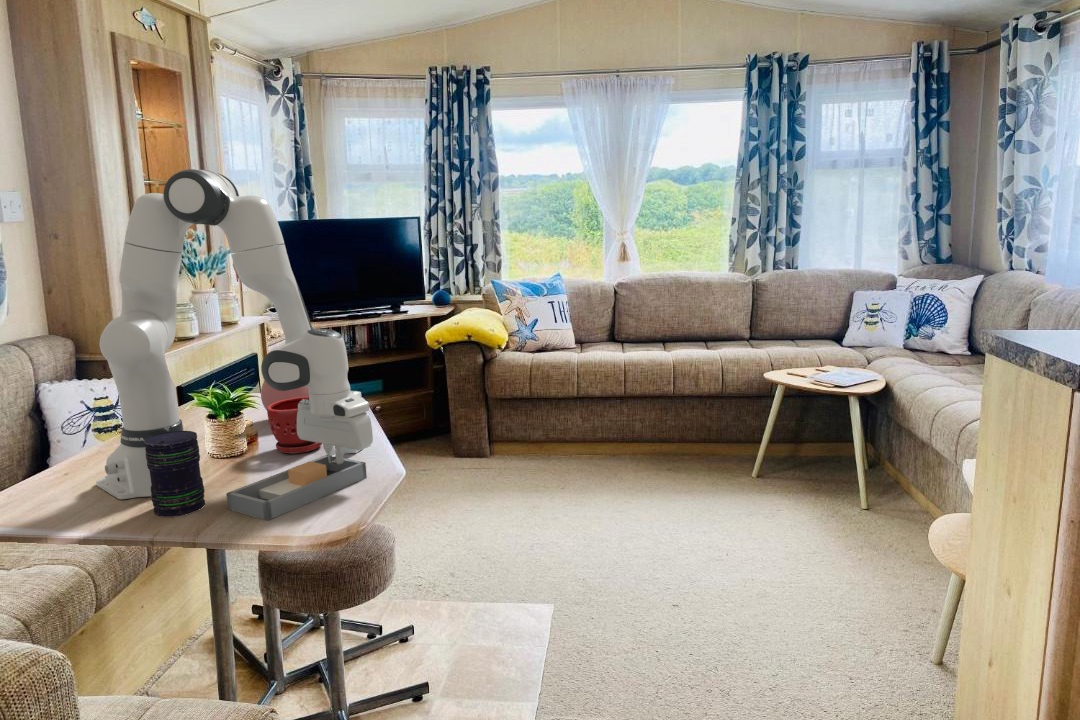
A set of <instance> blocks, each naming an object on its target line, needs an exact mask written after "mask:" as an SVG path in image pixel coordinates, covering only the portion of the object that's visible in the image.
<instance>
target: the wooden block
mask: <svg viewBox="0 0 1080 720" xmlns="http://www.w3.org/2000/svg"><path fill="white" fill-rule="evenodd" d="M311 461H312V460H310V461H307V462H304V463H302V464H299V465H296V466H294V467H291V468H288V469H287V470H288V475H289V483H291V484H296V485H300V486H304V485H307V484H309V483H312V482H314V481H317V480H319V479H322V478H324V477H326V476H327V471H326V465H325V464H320V463H316V462H311Z"/></svg>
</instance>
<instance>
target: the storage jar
mask: <svg viewBox="0 0 1080 720" xmlns="http://www.w3.org/2000/svg"><path fill="white" fill-rule="evenodd" d="M144 444H145V446H146V448H145V451H146V454H145V455H146V460H147V466H148V469H149V470H150V478H151V487H150V488H151V496H150V498H151V502H152V506H153V514H154V515H155V516H156V517H161V518H174V516H177V517H181V515H182V516H187V515H189V514H193V513H196V512H198V511H200V510H202V509H203V508H204V507H205V506H206V500H205V486H204V481H203V477H202V475H201V466H200V461H201V455H200V446H199V442H198V435H197V432H195V431H191V430H183V431H172V432H166V433H161V434H157V435H154V436H151V437H149V438H147V439H145V441H144ZM204 505H205V506H204ZM203 506H204V507H203ZM202 507H203V508H202ZM201 508H202V509H201ZM199 509H200V510H199ZM186 514H187V515H186Z"/></svg>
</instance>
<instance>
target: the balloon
mask: <svg viewBox="0 0 1080 720" xmlns="http://www.w3.org/2000/svg"><path fill="white" fill-rule="evenodd" d="M299 397H309V391H308V388H307V387H301V388H297V389H293V390H288V391H279V390H276V389H274V388H272V387H271V386H269V385H268V384H267V383H266V381H265V380H264V381H263V383H262V384H261V389H260V399H261V403H262V406H263V408H264V409H265V411H267V407H268V406H269V405H271V404H273V403H275V402H278V401H281V400H286V399H292V398H299Z"/></svg>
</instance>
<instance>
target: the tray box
mask: <svg viewBox="0 0 1080 720" xmlns="http://www.w3.org/2000/svg"><path fill="white" fill-rule="evenodd" d="M343 458H344V462H343V463H342V464H334V463H329V459H328V455H327V454H326V455H324V456H321V457H317V458H316V459H313V460H310V461H311V462H316V463H320V464H325V465H326V471H327V476H326V477H324V478H322V479H319V480H317V481H314V482H312V483H309V484H307V485H304V486H300V485H296V484H291V483H289V475H288V469H286V470H284V471H281V472H279V473H276V474H273V475H270V476H268V477H265V478H263V479H260V480H257V481H255V482H252V483H250V484H246V485H245V486H241V487H239V488H236V489H234V490H231V491H228V492H226V494H225V495H226V502H227V509H230V510H229V511H231V510H233V511H232V512H235V511H236V513H239V514H242V515H246V516H250V517H254V518H257V519H260V518H261V520H264V519H265V521H270V520H273V519H275V518H277V517H279V515H280V516H282V515H284V514H287V513H289V512H291V511H293V510H296V509H298V508H299V507H302V506H305V505H306V504H309V503H312V502H314V501H316V500H318V499H321V498H323V497H325V496H327V495H330V494H332V493H334V492H337V491H339V490H341V489H344V488H347V487H348V486H350V485H353V484H355V483H357V482H359V481H362V480H365V479H366V478H367V476H368V475H367V464H366V462H365V461H360V460H357V459H356V460H355V459H349V458H345V457H343ZM281 514H282V515H281ZM274 517H275V518H274ZM272 518H273V519H272Z"/></svg>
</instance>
